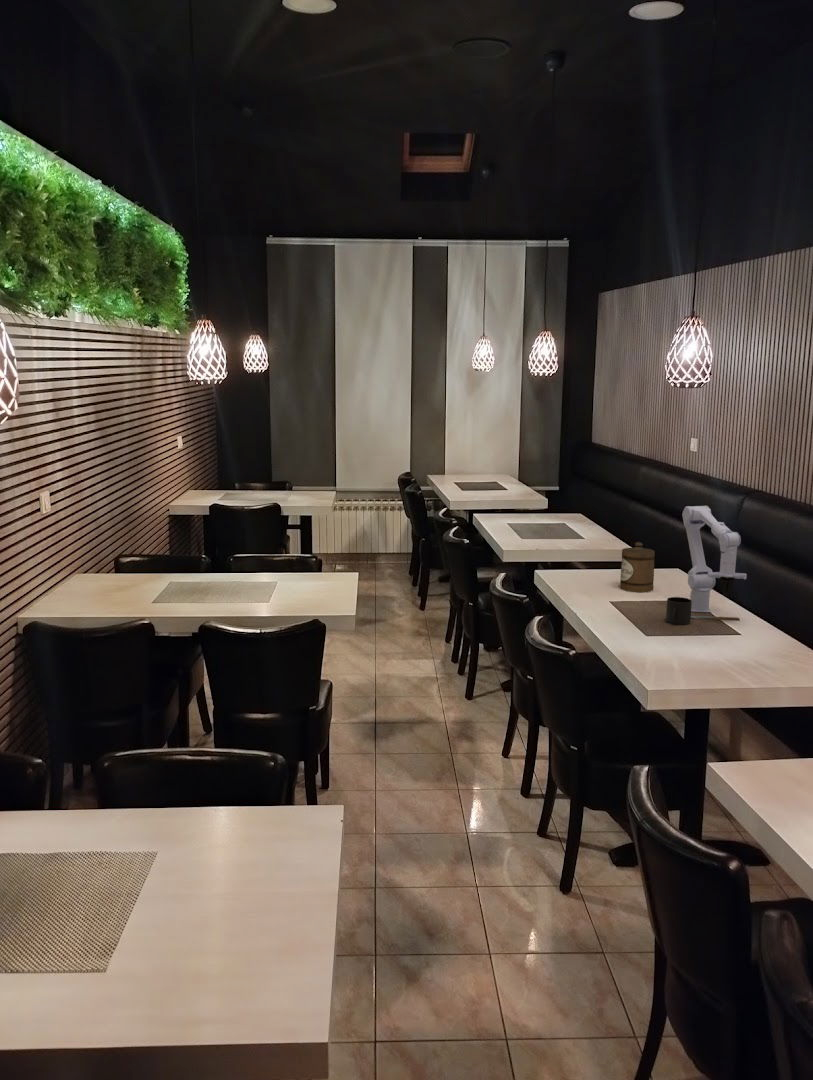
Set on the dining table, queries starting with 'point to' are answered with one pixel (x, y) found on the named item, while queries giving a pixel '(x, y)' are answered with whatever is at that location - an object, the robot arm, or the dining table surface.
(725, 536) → the robot arm
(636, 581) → the wooden container
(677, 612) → the mug
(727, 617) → the wooden stick
